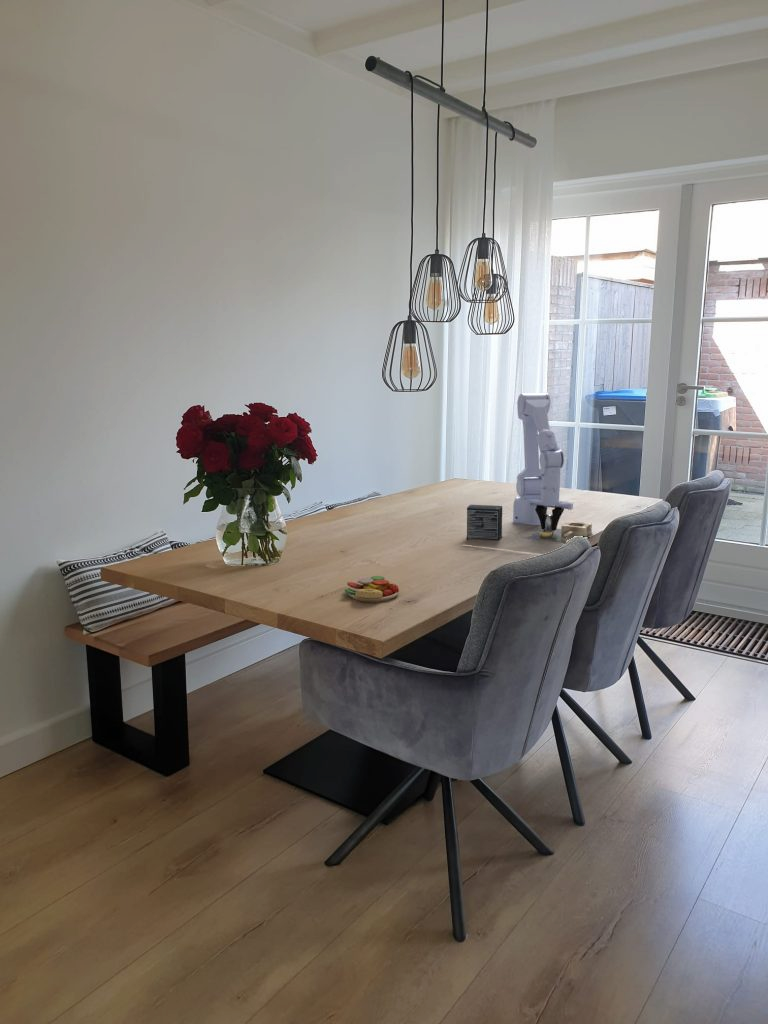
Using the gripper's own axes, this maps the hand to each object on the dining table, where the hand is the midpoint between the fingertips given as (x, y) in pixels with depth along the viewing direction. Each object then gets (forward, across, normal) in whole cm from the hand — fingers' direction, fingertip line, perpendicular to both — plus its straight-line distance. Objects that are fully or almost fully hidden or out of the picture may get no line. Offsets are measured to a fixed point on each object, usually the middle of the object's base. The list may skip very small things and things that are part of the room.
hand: (548, 529), depth 264 cm
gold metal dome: (+1, +1, -6) cm, 6 cm away
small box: (+2, -16, -15) cm, 22 cm away
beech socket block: (+1, +8, +4) cm, 9 cm away
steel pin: (+1, 0, 0) cm, 1 cm away
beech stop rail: (+1, +8, -6) cm, 10 cm away
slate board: (+2, +4, -1) cm, 4 cm away
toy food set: (+2, -17, -83) cm, 85 cm away
